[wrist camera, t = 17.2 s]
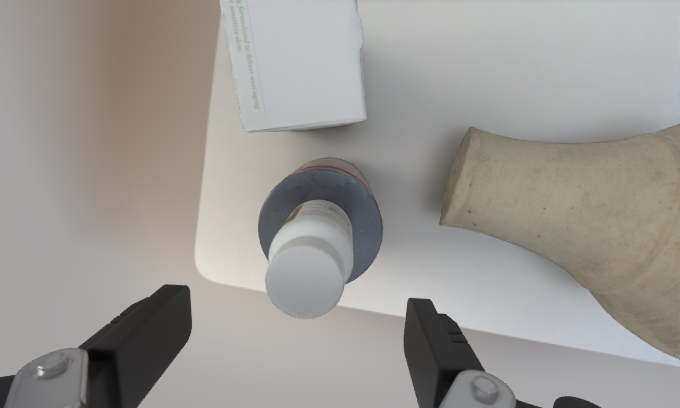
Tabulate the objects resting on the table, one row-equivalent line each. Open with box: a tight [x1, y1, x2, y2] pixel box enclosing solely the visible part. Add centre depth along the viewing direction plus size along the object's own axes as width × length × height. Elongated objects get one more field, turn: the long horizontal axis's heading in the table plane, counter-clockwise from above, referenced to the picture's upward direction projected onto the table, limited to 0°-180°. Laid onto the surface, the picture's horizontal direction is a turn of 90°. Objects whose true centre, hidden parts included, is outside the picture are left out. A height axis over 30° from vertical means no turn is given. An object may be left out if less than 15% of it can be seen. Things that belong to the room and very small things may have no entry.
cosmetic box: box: [220, 0, 367, 133], centre depth 22 cm, size 8×7×16 cm
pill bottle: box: [265, 200, 353, 319], centre depth 17 cm, size 4×4×8 cm
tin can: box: [258, 158, 383, 284], centre depth 26 cm, size 8×8×11 cm
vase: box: [439, 124, 680, 359], centre depth 23 cm, size 22×22×28 cm
